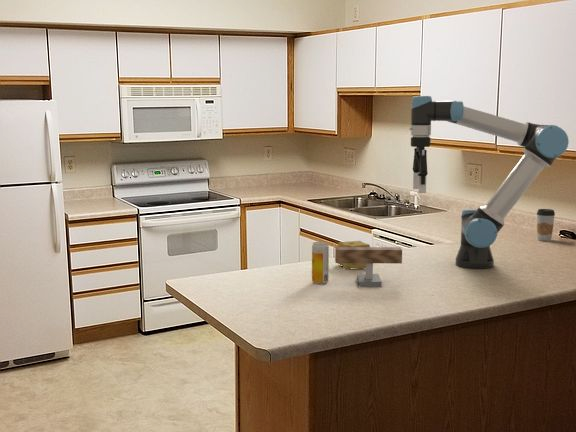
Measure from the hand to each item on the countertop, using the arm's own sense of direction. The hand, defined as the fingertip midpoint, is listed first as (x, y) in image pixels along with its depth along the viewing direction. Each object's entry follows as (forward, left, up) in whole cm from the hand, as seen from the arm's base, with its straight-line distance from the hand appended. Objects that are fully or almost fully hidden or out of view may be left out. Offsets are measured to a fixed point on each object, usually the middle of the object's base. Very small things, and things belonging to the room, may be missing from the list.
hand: (419, 191), depth 268 cm
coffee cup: (-72, -65, -32) cm, 102 cm away
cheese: (+25, -6, -32) cm, 41 cm away
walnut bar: (+21, +21, -24) cm, 38 cm away
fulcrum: (+21, +21, -32) cm, 43 cm away
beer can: (+39, +21, -32) cm, 55 cm away
